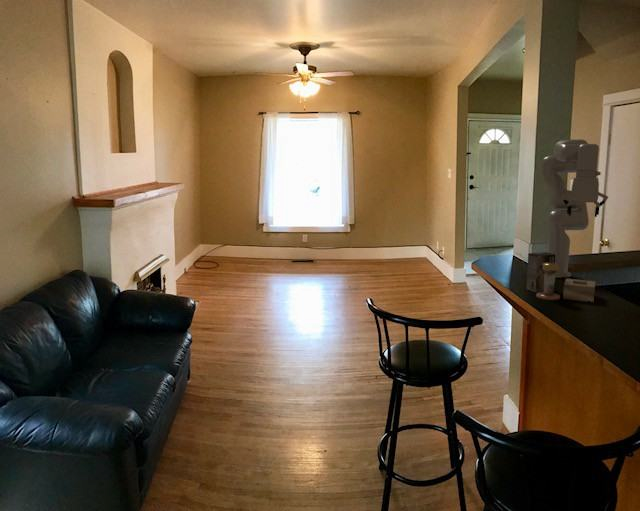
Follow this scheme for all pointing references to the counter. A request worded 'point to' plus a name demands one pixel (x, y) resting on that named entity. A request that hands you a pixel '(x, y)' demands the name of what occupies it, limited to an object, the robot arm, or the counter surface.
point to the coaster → (541, 296)
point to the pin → (549, 278)
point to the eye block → (579, 290)
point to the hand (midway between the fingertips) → (582, 216)
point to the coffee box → (537, 270)
